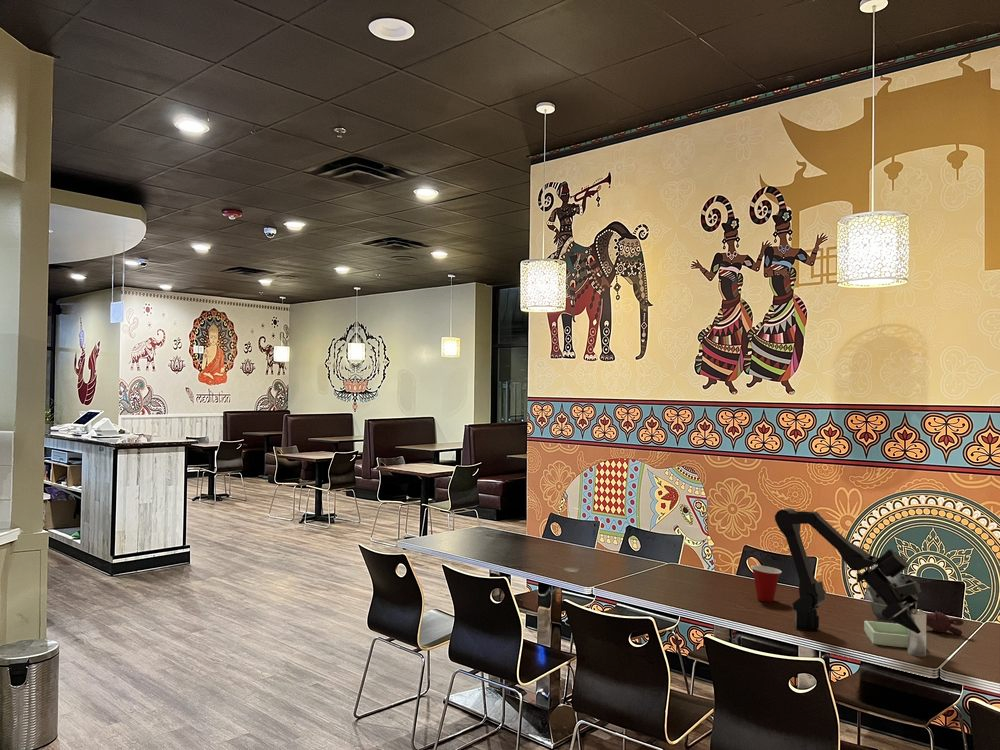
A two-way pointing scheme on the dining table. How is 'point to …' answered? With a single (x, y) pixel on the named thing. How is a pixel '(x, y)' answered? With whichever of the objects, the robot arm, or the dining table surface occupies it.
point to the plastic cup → (765, 582)
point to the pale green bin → (886, 633)
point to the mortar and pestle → (878, 607)
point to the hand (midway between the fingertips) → (922, 630)
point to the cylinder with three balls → (917, 640)
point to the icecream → (943, 623)
